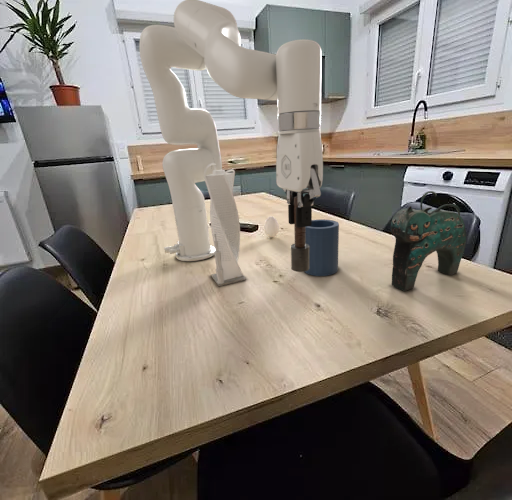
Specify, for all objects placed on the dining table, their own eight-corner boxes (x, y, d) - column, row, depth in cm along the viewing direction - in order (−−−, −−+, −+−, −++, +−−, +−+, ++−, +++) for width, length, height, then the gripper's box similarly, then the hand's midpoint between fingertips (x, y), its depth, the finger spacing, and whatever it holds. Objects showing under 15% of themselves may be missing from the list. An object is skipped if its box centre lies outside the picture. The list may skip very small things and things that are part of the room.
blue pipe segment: (314, 279, 71) (314, 230, 67) (296, 266, 79) (294, 223, 75) (345, 271, 74) (346, 224, 70) (324, 260, 82) (324, 217, 78)
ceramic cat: (402, 295, 60) (412, 197, 54) (378, 284, 66) (384, 194, 60) (467, 274, 67) (482, 185, 61) (440, 265, 73) (451, 183, 67)
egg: (277, 239, 103) (276, 218, 100) (262, 239, 105) (261, 218, 102) (281, 235, 108) (280, 214, 105) (267, 234, 109) (265, 214, 107)
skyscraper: (209, 274, 78) (195, 164, 69) (238, 267, 81) (228, 161, 72) (218, 286, 71) (203, 165, 62) (250, 278, 74) (240, 161, 64)
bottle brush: (296, 273, 60) (295, 199, 55) (287, 267, 63) (286, 196, 58) (312, 269, 61) (313, 197, 56) (303, 263, 65) (303, 194, 59)
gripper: (261, 128, 58) (266, 219, 65) (304, 121, 44) (304, 238, 51) (295, 127, 61) (296, 214, 67) (345, 120, 47) (340, 231, 53)
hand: (299, 224), depth 59 cm, fingers closed on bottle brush, 2 cm apart
